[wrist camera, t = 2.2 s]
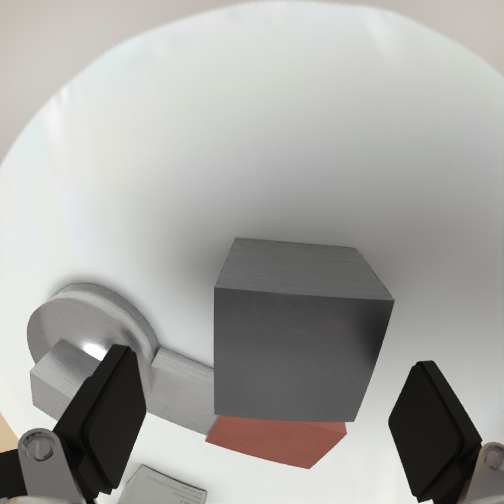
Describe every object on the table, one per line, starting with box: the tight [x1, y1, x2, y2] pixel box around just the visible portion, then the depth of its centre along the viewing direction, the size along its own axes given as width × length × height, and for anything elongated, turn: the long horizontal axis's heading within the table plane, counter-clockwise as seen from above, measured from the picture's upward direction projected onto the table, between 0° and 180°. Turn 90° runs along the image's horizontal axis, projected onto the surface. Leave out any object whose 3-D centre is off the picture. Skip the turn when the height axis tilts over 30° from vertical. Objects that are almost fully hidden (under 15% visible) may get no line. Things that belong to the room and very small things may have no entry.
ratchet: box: [27, 283, 347, 469], centre depth 16 cm, size 22×9×6 cm, turn 66°
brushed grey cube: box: [214, 238, 395, 422], centre depth 14 cm, size 6×6×6 cm
